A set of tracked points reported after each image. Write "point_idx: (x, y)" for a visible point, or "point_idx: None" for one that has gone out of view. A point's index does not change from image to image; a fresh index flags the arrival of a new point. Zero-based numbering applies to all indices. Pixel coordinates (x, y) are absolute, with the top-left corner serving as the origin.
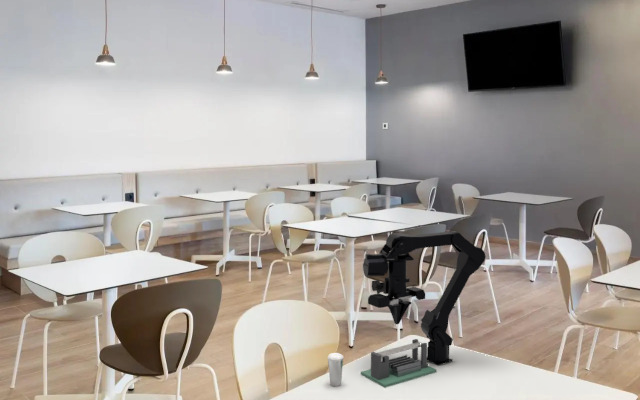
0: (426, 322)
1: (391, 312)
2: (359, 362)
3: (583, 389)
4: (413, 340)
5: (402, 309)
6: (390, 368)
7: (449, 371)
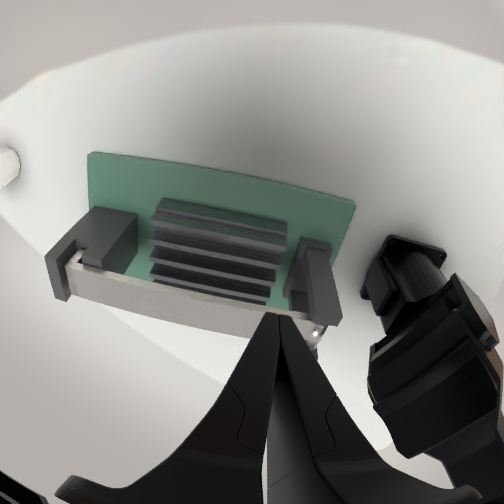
0: (414, 394)
1: (215, 404)
2: (170, 51)
3: (372, 439)
4: (313, 318)
5: (270, 487)
6: (155, 249)
7: (335, 330)
